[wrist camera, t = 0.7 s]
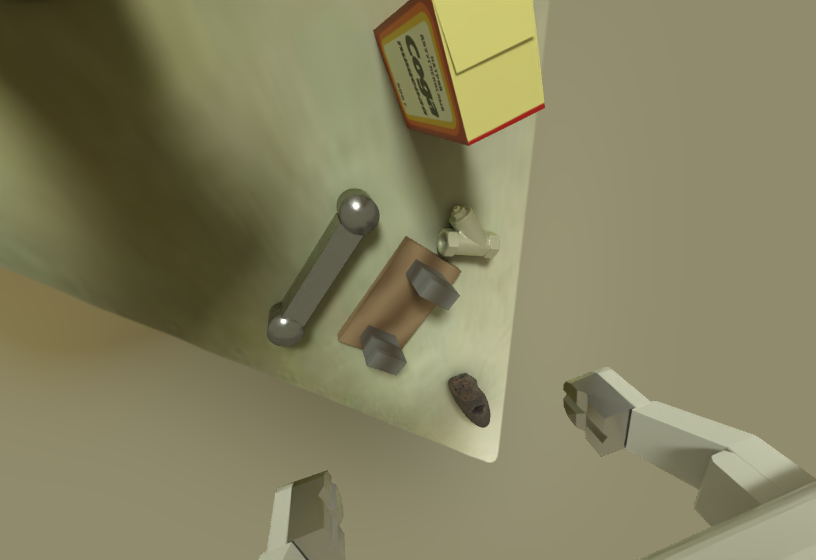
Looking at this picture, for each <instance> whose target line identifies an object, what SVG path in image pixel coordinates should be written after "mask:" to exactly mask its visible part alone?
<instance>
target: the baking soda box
mask: <svg viewBox="0 0 816 560" xmlns="http://www.w3.org/2000/svg"><path fill="white" fill-rule="evenodd" d="M373 31H374V34H375V36H376V39H377V42H378V45H379V48H380V51H381V54H382V56H383V59H384V62H385V65H386V68H387V71H388V73H389V76H390V79H391V82H392V85H393V88H394V90H395V93H396V96H397V99H398V102H399V105H400V108H401V110H402V113H403V116H404V119H405V122H406V125H407V127H408V128H409V129H413V130H416V131H419V132H423V133H426V134H430V135H433V136H437V137H440V138H444V139H447V140H451V141H454V142H458V143H461V144H465V145H468V146H469V145H471V144H473V143H475V142H477V141H479V140H481V139H483V138H485V137H487V136H489V135H491V134H493V133H496V132H498V131H500V130H502V129H504V128H506V127H508V126H510V125H512V124H514V123H516V122H518V121H520V120H522V119H524V118H526V117H528V116H530V115H532V114H534V113H536V112H538V111H540V110H542V109H543V108H545V105H544V97H543V87H542V78H541V69H540V60H539V51H538V42H537V33H536V25H535V16H534V7H533V0H409V1H408V2H407V3H405V4H404V5H403V6H402V7H401V8H400V9H398V10H397V11H396V12H395V13H394V14H392V15H391V16H390V17H389V18H388V19H386V20H385V21H384V22H383V23H382V24H380V25H379V26H378V27H377V28H376V29H374V30H373Z"/></svg>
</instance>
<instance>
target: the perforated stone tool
mask: <svg viewBox="0 0 816 560" xmlns="http://www.w3.org/2000/svg"><path fill="white" fill-rule="evenodd" d="M449 387H450V390H451V393H452V395H453V396H454V398H455V400H456V402H457V404H458V405H459V407H460V409H461V410H462V411H463V413H464V414H465V415H466V416H467V418H468V419H469V420H471V422H473V423H474V424H476V425H477V426H479V427H486V426H488V424H489V422H490V409H489V405H488V401H487V399H486V396H485V394H484V393H483V392H482V391H481V390H480V389H479V388H478V386H477V381H476V379H475V378H473V377H472V376H470V375H468V374H466V373H464V374H460V375H459V376H455V377H452V378H451V379H450V380H449Z"/></svg>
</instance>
